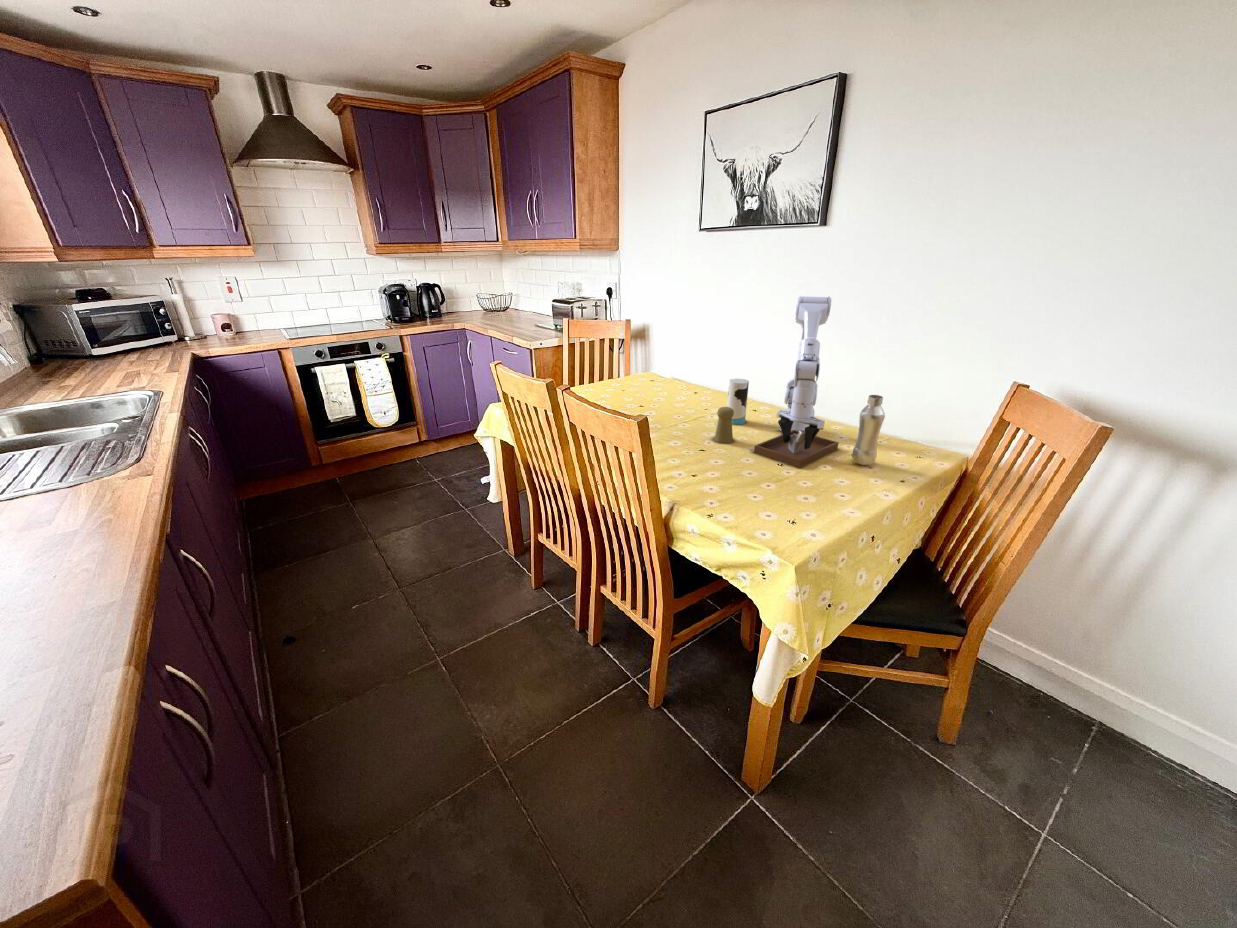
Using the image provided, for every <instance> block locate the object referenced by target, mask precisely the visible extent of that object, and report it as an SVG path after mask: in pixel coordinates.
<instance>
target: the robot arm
mask: <svg viewBox="0 0 1237 928" xmlns="http://www.w3.org/2000/svg"><path fill="white" fill-rule="evenodd" d="M831 308H832V297H831V296H801V295H799V296H798V297H797V299H796V307H795V319H794V320H795V323H796V324H798V325H800V326H801V339H800V341H799V343H798V351H797V352H798V353H797V360H796V362H795V365H794V371H793V372H794V374H793V377H792V378H790V379H788V381H787V382H786V387H785V394H784V401H783V402H784V404H785V405H787V409H786V410H782V409H780V410H778V411H777V413H776V418H777V419H779V420H778V421H777V422H778V426H779V431H780V432H781V435H783V442H784V443H786V442H789V439H790V434H791V431H792V430H797V431H800V430H805V444H804V449H808V448H810V446H811V443H812V441H813V439H814V437H815V436H817V434H818V433H819V432H820V430H822V429H824V428H825V424H826V421H825V420H822V419H819V418H817V417H815V413H816V412H815V408H814V407H815V405H816V404H817V398H818V383H817V382H818V380H819V377H820V370H821V360H820V359H821V358H820V349H821V343H820V341H819V339H817V337H818V332H819V327H820V326H822V325H824V324H826V323H827V322H828V319H829V317H830V313H831Z"/></svg>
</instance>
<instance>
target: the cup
mask: <svg viewBox="0 0 1237 928" xmlns="http://www.w3.org/2000/svg"><path fill="white" fill-rule="evenodd" d="M749 383H750V380H749V379H745V378H732V379H731V378H730V379H729V381H728V393H727V403H726V404H727V406H726V407H730V408H732V409H733V411H734V415H733V417H732V425H735V426H738V425H739V426H740V425H744V424H745V423H746V416H747V405H748V395H749Z"/></svg>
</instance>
